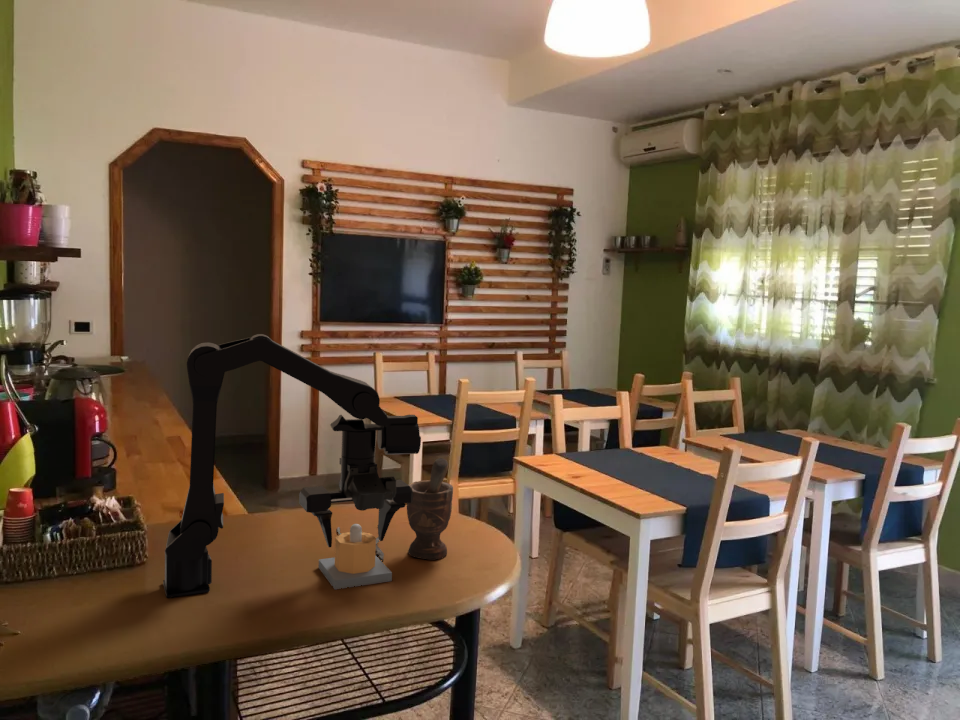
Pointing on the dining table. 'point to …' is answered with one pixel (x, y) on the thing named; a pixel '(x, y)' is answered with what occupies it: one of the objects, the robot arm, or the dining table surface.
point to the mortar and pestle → (430, 513)
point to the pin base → (350, 580)
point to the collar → (355, 553)
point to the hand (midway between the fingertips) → (355, 543)
